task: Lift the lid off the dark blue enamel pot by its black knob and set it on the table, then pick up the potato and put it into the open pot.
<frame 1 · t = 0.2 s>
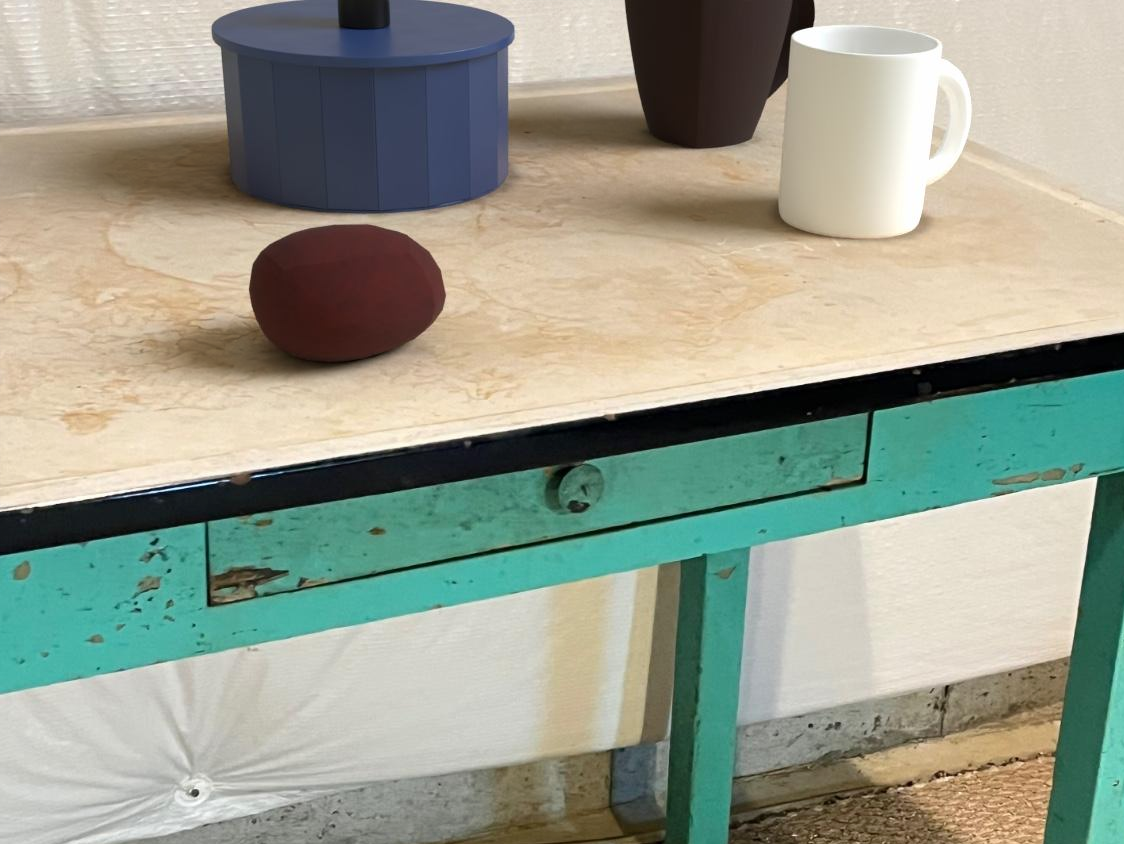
mug 2: (721, 139, 115), on the table
mug: (874, 223, 99), on the table
lid: (364, 35, 100), point 8 cm above the table, touching pot
pot: (370, 179, 104), on the table
potato: (353, 358, 78), on the table
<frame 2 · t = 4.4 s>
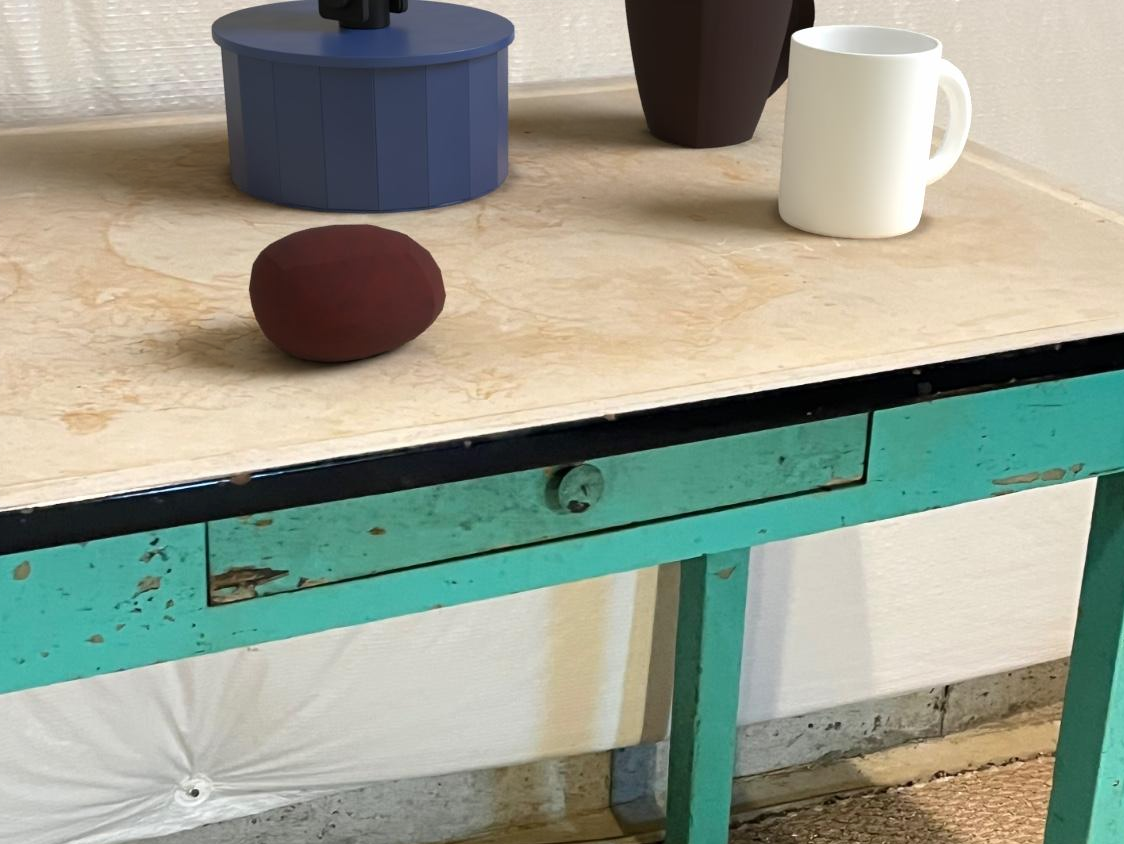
hand: (363, 12, 99), 10 cm above the table, tool pointing down, fingers closed on lid, 3 cm apart
lid: (364, 35, 100), point 9 cm above the table, touching gripper, pot
everything else where it was.
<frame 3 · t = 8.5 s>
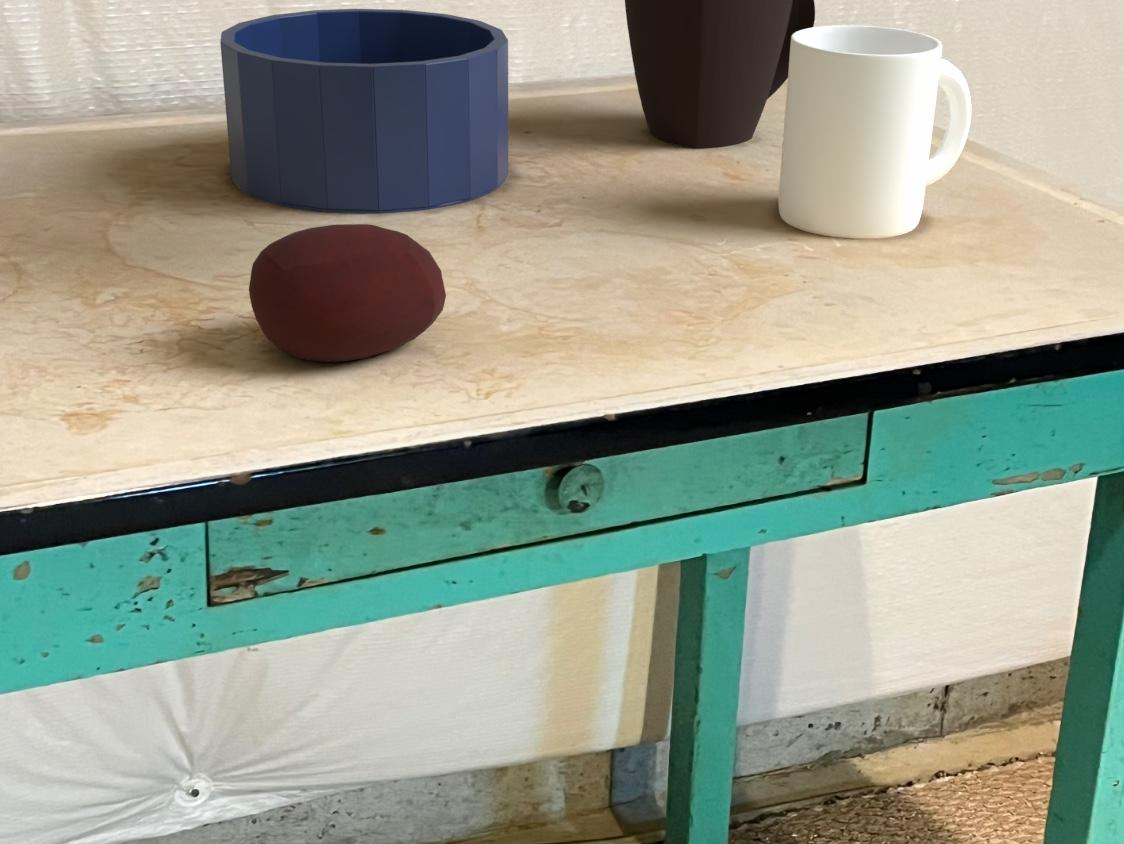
when the fingers open (2 cm above the table, at t = 12.9 s): lid stays where it is, point 1 cm above the table.
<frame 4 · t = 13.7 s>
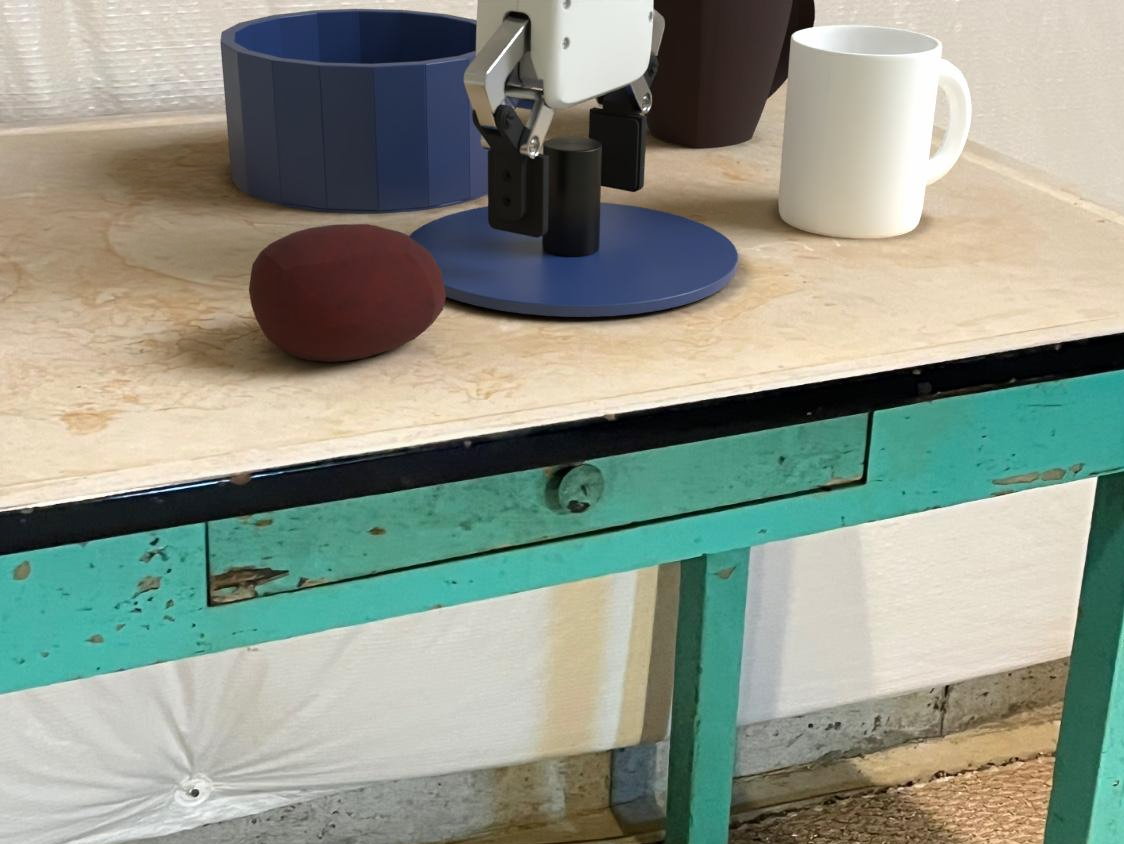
hand: (568, 208, 88), 3 cm above the table, tool pointing down, fingers open, 9 cm apart
lid: (570, 259, 89), point 1 cm above the table
everything else where it was.
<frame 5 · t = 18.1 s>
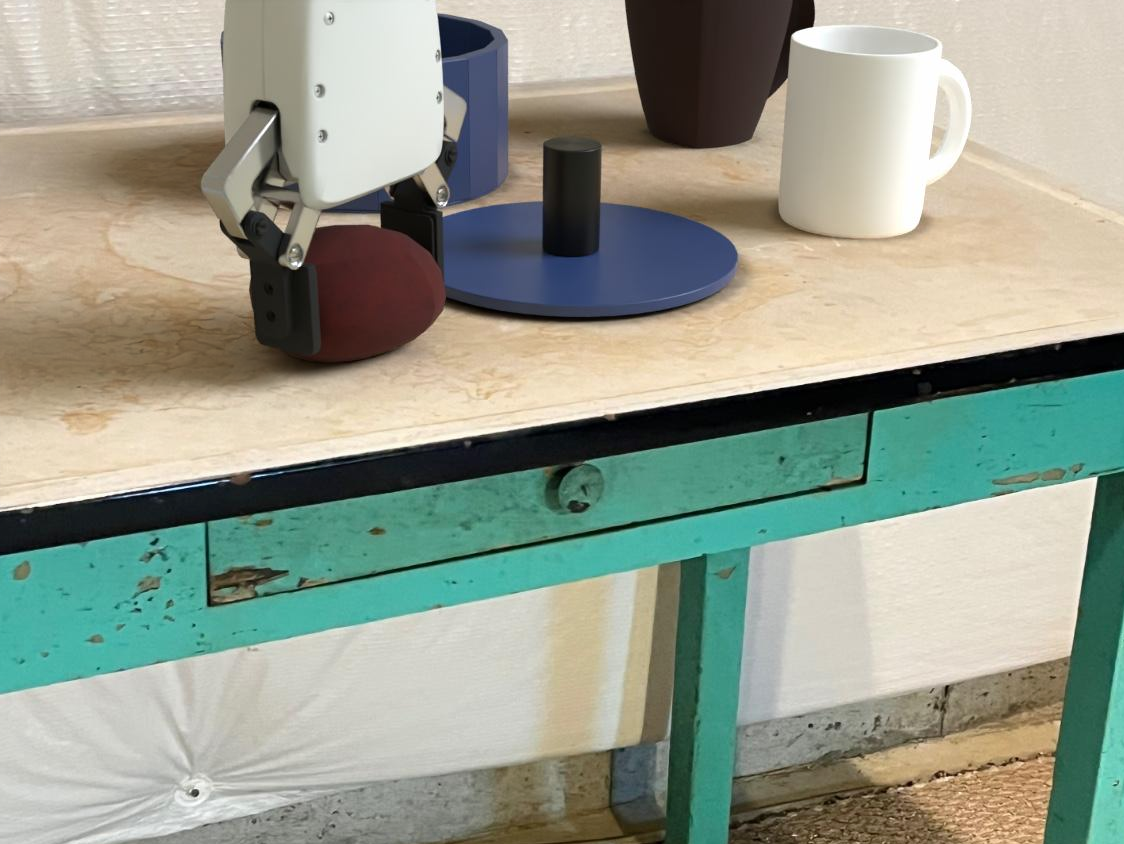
hand: (353, 316, 77), 2 cm above the table, tool pointing down, fingers closed on potato, 8 cm apart
potato: (353, 358, 78), on the table, touching gripper
everything else where it was.
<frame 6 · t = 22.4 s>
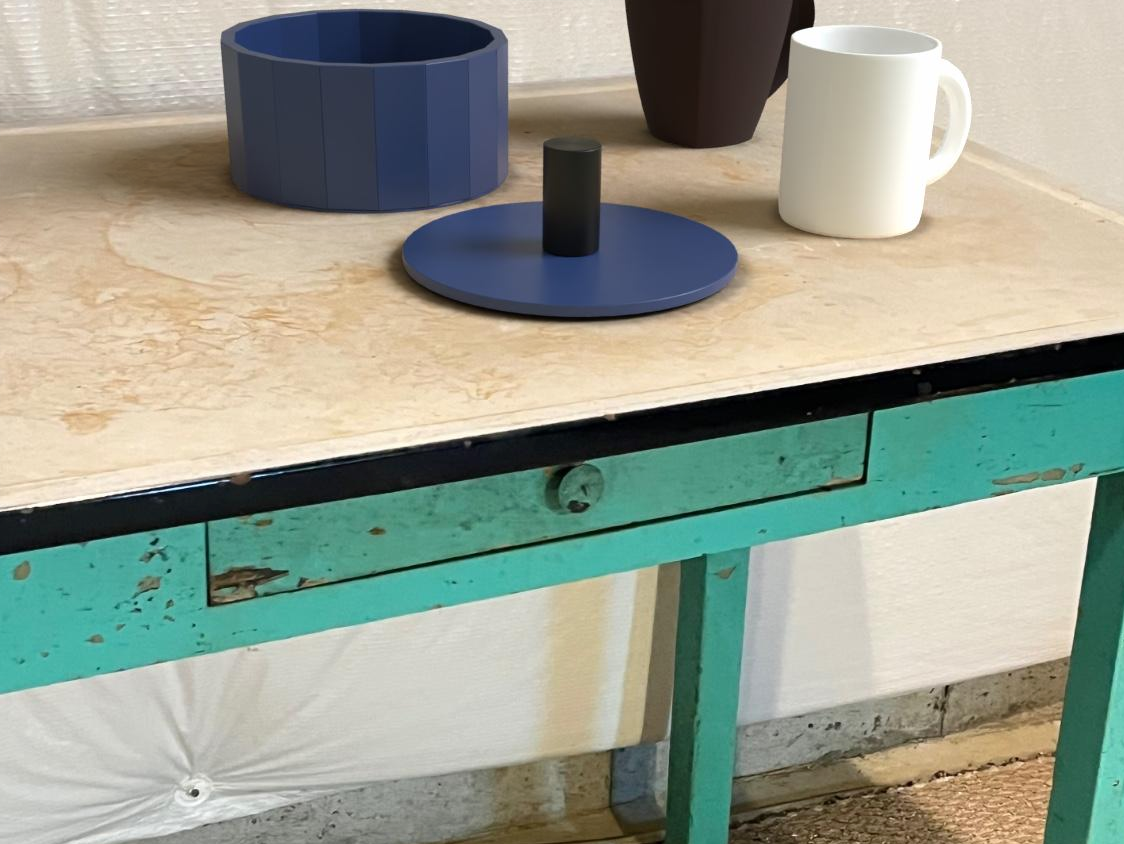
when the fingers open (6 cm above the table, at t = 27.2 s): potato drops 4 cm, resting on pot.
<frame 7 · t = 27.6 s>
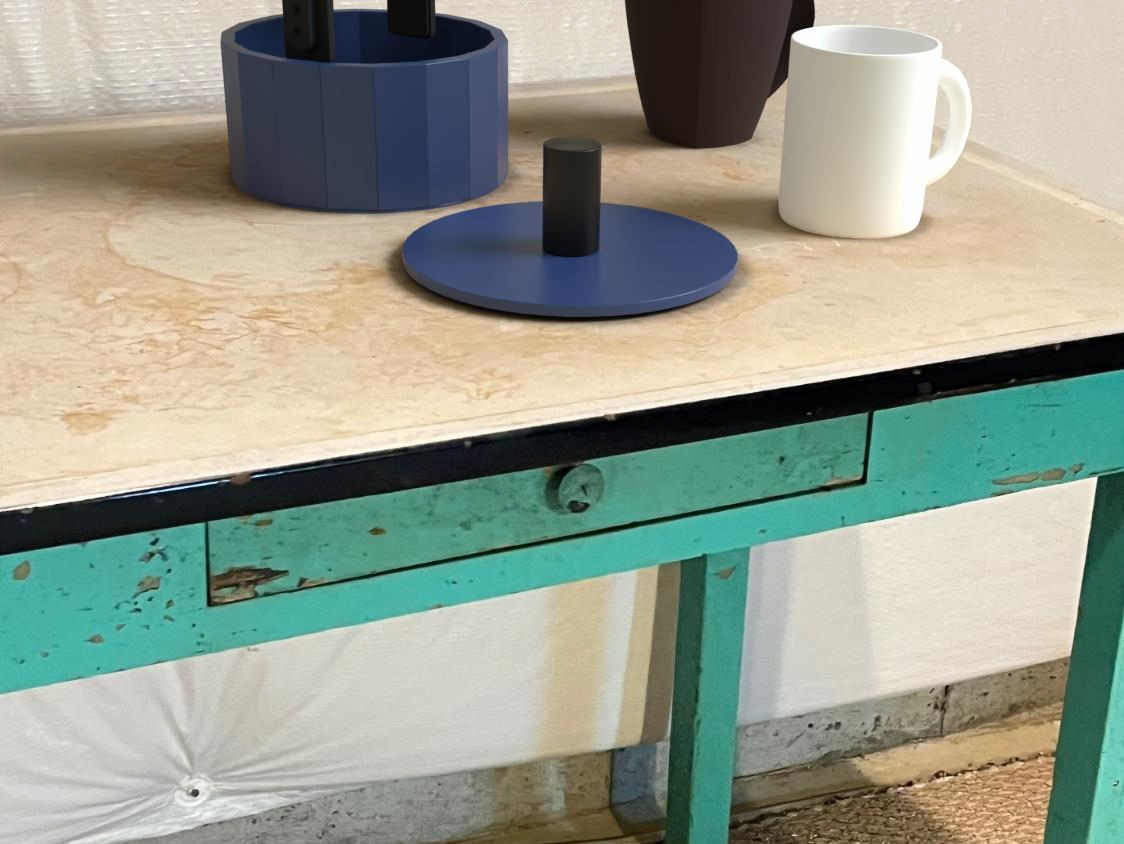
hand: (363, 48, 100), 8 cm above the table, tool pointing down, fingers open, 9 cm apart
potato: (364, 175, 103), resting on pot
everything else where it was.
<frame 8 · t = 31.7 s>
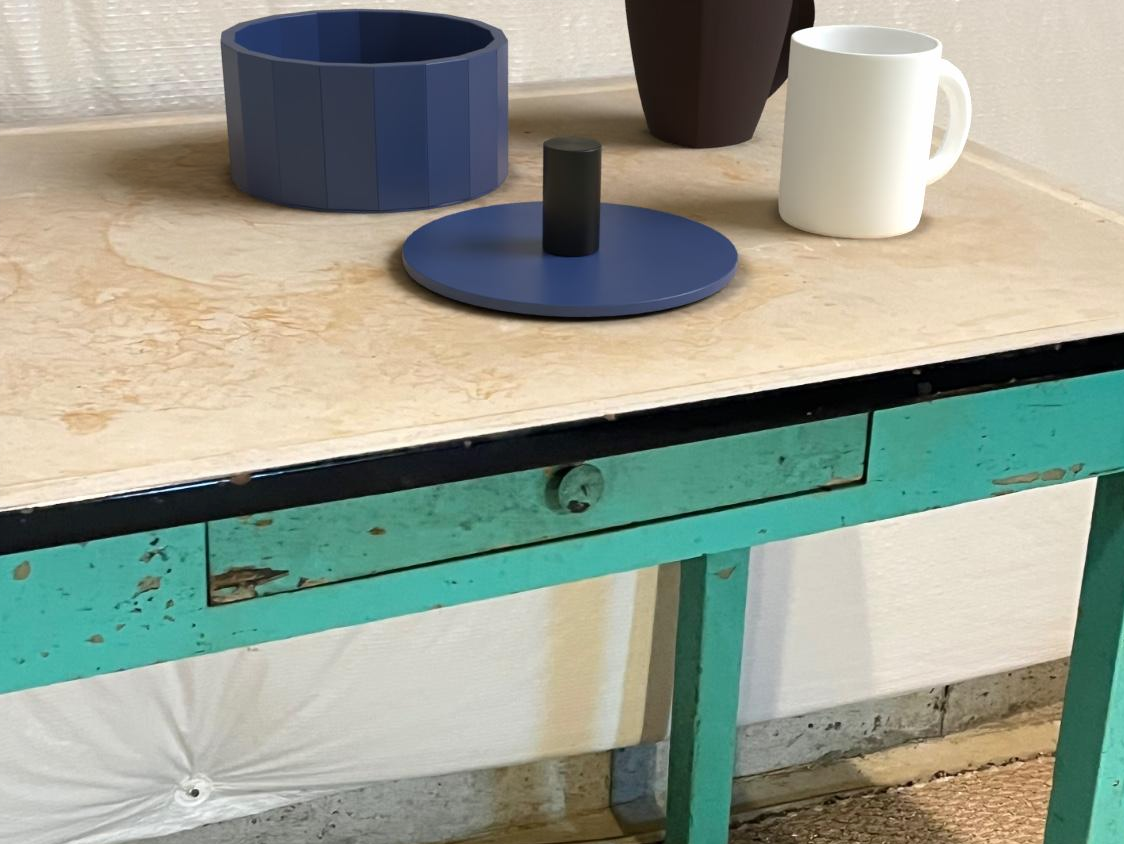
nothing on the table moved.
at the end: lid inside the target area (0.1 cm from its centre), point 0.6 cm above the table; potato inside the target area in the pot (0.4 cm from its centre), point 0.3 cm above the pot's base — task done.
